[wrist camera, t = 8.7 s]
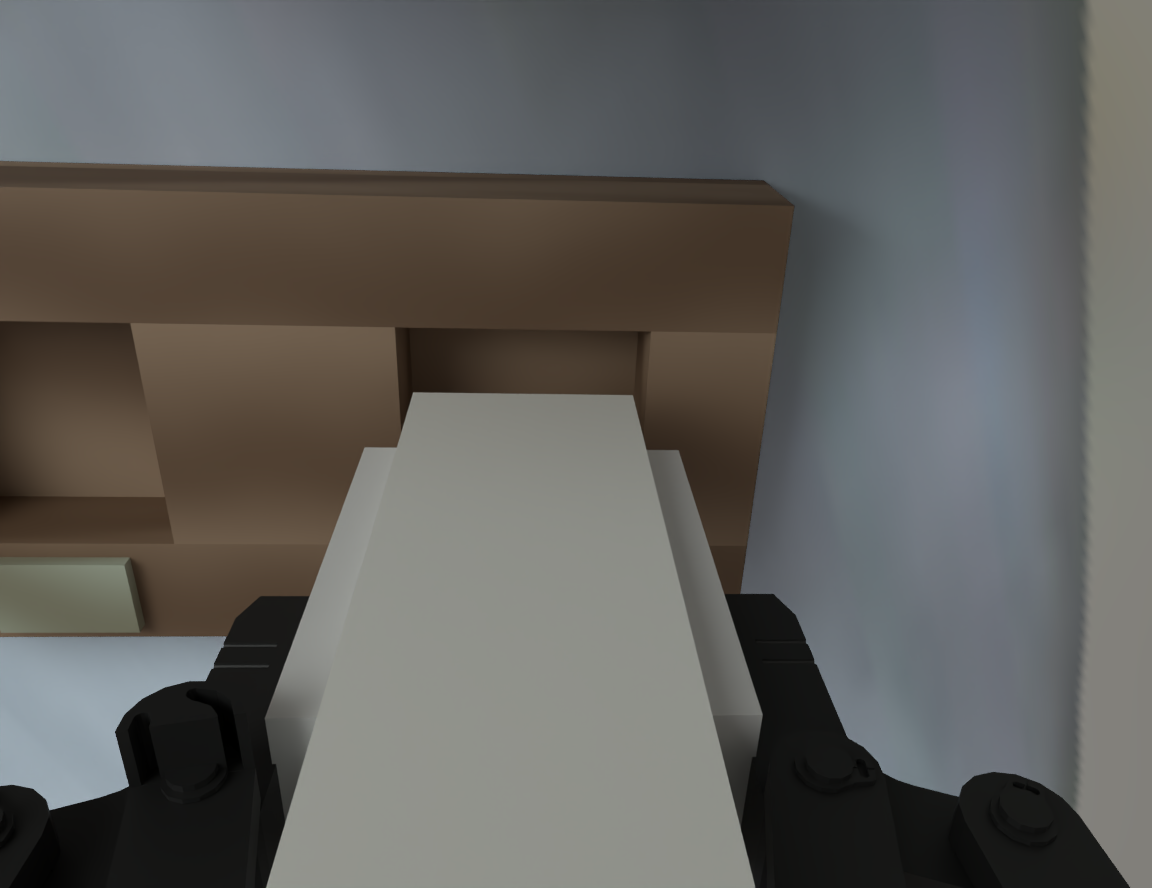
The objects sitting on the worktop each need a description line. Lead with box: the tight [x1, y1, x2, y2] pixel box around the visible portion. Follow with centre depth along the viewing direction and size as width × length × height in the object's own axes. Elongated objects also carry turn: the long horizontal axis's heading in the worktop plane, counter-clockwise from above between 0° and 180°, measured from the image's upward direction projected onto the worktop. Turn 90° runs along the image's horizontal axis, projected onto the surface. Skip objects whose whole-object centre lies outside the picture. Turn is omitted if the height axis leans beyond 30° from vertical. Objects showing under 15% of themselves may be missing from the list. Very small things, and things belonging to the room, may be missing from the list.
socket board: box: [0, 161, 794, 637], centre depth 19 cm, size 10×20×3 cm, turn 88°
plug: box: [266, 392, 755, 888], centre depth 12 cm, size 4×4×13 cm
